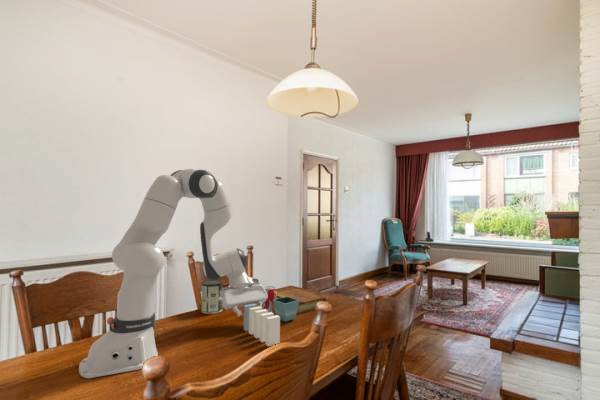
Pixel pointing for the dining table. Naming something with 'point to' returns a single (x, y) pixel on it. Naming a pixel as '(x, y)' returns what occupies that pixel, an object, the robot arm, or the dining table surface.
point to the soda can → (270, 299)
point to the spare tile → (247, 315)
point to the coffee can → (211, 296)
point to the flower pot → (286, 308)
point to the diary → (302, 299)
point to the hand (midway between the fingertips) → (250, 313)
